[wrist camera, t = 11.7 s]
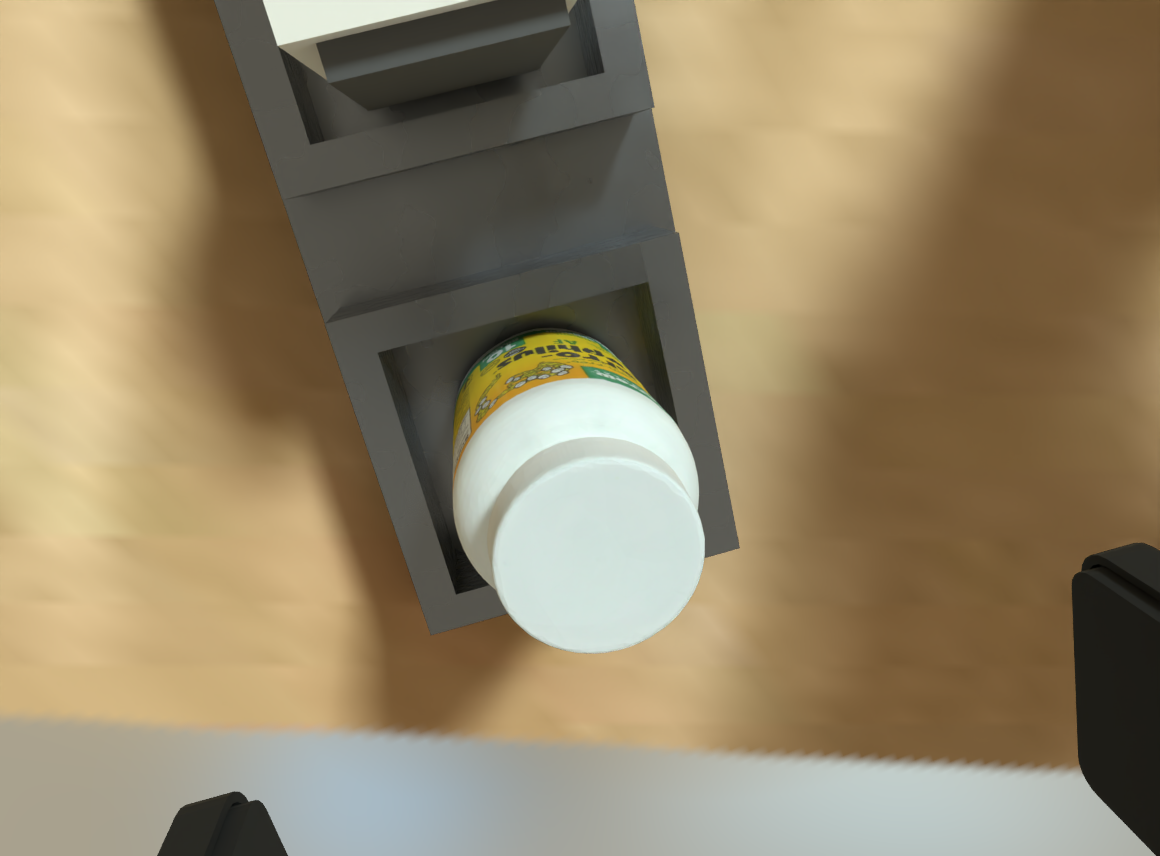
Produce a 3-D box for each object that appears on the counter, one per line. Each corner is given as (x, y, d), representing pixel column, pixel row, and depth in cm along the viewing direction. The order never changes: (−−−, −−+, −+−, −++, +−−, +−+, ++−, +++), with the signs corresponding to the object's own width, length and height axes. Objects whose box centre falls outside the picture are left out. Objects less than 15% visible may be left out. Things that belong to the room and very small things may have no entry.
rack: (152, -222, 20) (78, -316, 16) (556, -309, 20) (577, -421, 16) (429, 600, 27) (423, 670, 23) (720, 518, 28) (762, 573, 24)
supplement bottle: (445, 491, 24) (434, 681, 15) (463, 312, 23) (464, 404, 14) (622, 506, 25) (711, 694, 16) (651, 335, 24) (767, 435, 15)
